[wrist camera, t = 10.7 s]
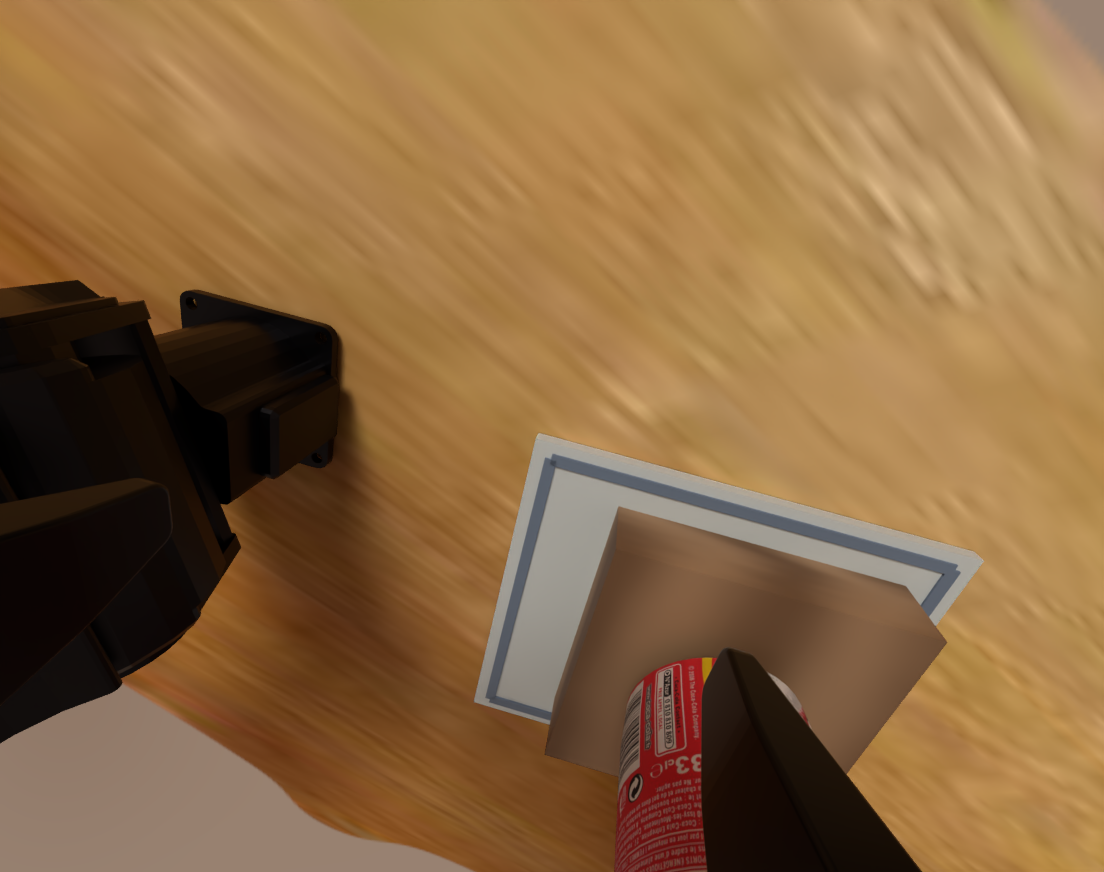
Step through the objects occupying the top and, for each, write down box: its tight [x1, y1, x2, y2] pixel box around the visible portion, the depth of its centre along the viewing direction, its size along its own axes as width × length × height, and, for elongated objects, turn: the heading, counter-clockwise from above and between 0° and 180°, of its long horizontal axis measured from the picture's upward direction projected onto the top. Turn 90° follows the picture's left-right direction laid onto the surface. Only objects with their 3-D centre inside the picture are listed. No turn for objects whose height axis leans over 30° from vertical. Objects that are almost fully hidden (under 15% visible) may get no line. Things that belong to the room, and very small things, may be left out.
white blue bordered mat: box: [474, 433, 984, 725], centre depth 24 cm, size 18×16×1 cm
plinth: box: [545, 506, 947, 777], centre depth 22 cm, size 12×12×3 cm
